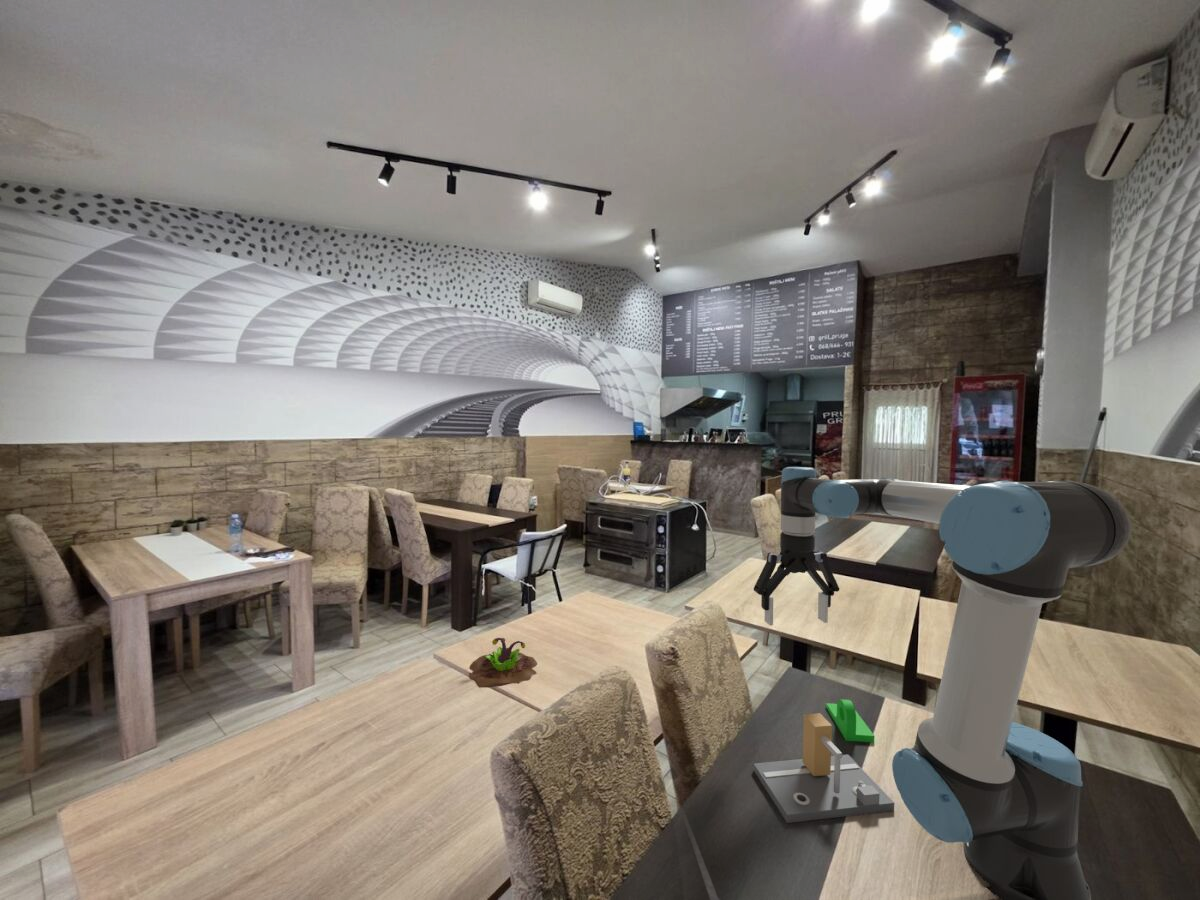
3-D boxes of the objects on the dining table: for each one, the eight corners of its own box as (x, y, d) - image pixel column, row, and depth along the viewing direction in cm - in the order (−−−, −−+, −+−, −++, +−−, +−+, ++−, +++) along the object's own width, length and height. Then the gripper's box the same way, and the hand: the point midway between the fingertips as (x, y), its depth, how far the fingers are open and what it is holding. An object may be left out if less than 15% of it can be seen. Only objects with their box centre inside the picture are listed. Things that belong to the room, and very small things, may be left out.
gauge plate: (894, 810, 88) (894, 792, 88) (787, 822, 85) (787, 804, 85) (847, 761, 101) (848, 745, 100) (753, 770, 98) (754, 754, 98)
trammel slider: (846, 794, 89) (848, 742, 89) (829, 795, 89) (831, 743, 88) (818, 760, 98) (819, 713, 98) (802, 762, 98) (803, 714, 97)
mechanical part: (874, 744, 106) (875, 709, 106) (846, 742, 107) (847, 708, 107) (850, 712, 118) (852, 681, 118) (825, 710, 119) (826, 679, 118)
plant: (461, 666, 140) (461, 628, 139) (526, 653, 148) (526, 617, 148) (475, 702, 122) (475, 659, 121) (547, 684, 130) (548, 644, 130)
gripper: (836, 528, 118) (835, 613, 118) (740, 530, 115) (738, 618, 115) (857, 534, 110) (855, 625, 111) (754, 537, 107) (752, 630, 108)
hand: (795, 622), depth 113 cm, fingers open, 13 cm apart
